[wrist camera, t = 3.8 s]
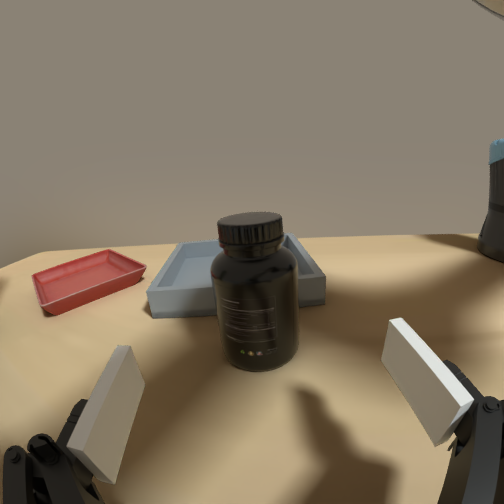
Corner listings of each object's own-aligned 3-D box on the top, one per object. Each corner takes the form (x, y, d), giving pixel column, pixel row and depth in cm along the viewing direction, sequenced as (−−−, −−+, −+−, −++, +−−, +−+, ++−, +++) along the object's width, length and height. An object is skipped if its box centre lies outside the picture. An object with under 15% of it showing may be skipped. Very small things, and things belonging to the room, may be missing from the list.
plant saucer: (152, 284, 41) (148, 264, 40) (48, 327, 29) (39, 305, 28) (112, 263, 53) (109, 248, 52) (35, 291, 40) (30, 274, 39)
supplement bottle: (234, 327, 28) (220, 210, 24) (300, 330, 27) (298, 207, 23) (213, 370, 22) (189, 229, 18) (295, 377, 20) (294, 226, 17)
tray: (292, 251, 50) (292, 232, 49) (324, 304, 31) (325, 276, 30) (182, 261, 50) (179, 242, 49) (152, 318, 31) (146, 291, 29)
